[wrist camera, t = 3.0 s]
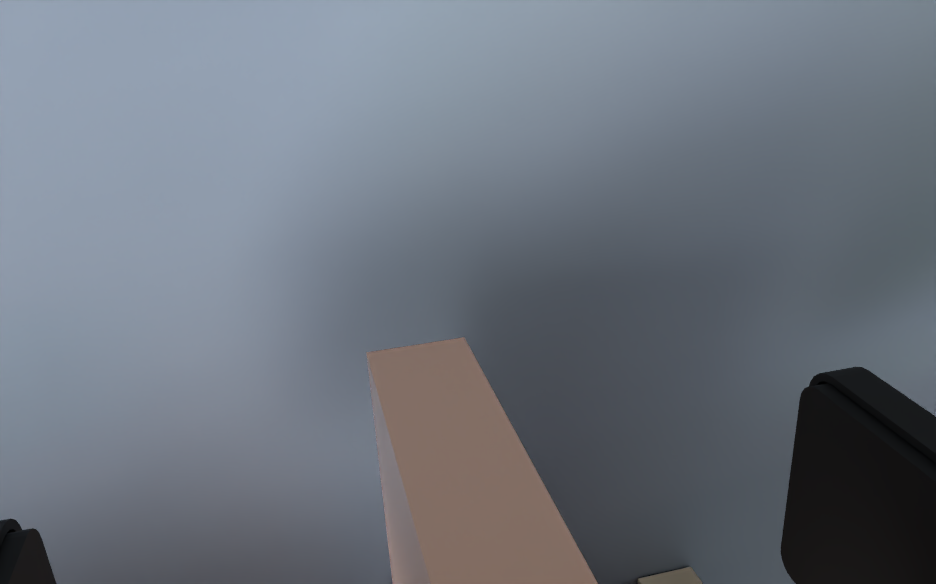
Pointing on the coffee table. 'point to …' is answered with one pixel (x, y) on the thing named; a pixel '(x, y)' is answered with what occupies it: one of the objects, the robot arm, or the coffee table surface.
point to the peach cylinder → (460, 477)
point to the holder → (672, 577)
